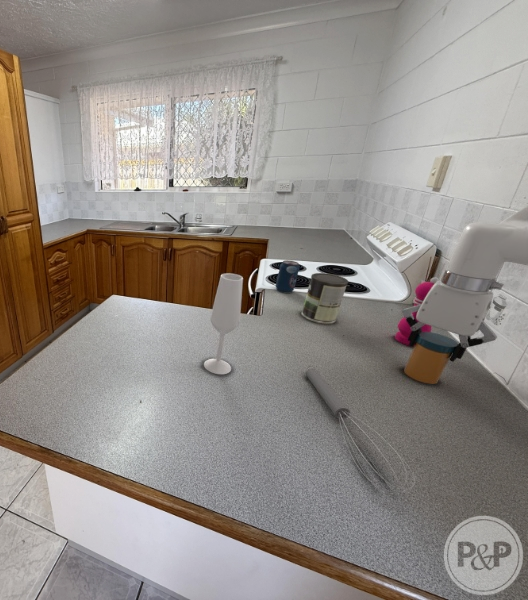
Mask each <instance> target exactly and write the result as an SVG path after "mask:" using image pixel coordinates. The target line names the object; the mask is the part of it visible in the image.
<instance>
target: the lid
mask: <svg viewBox="0 0 528 600" xmlns="http://www.w3.org/2000/svg"><path fill="white" fill-rule="evenodd" d="M416 341H417V342H418V343H419V344H420V345H422V346H424V347H426V348H428V349H431V350H434V351H437V352H442V353H452V354H453V352H454V350H455V348H456V346H457V345H458V344H459V343H458V342H457V341H456V340H455V339H453V338H451V337H448V336H447V335H444V334H440V333H436V332H432V331H431V332H420V333H419V335H418V337H417V339H416Z"/></svg>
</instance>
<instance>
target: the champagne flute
mask: <svg viewBox="0 0 528 600" xmlns="http://www.w3.org/2000/svg"><path fill="white" fill-rule="evenodd" d="M219 277H220V278H219V282H218V286H217V289H216V294H215V298H214V302H213V304H212V310H211V314H210V317H209V320H210V323H211V325H212V327H213V328H214V329H215V330H216V332H218V333H219V337H218V338H219V339H218V345H217V351H216V357H215V358H209V359H207V360H205V361H204V363H203V366H204V368H205V369H206V370H207V371H208V372H210V373H212V374H215V375H226V374H229V373H230V372H231V371H232V366H231V365H230V363H228V362H227V361H225V360H223V359H222V356H223V349H224V344H225V337H226V334H229V333H231V332H234V331H235V330H236V329H237V328H239V326H240V323H241V312H242V311H241V309H242V299H243V296H242V295H243V283H244V278H243V276H242V275H240V274H236V273H221V275H220V276H219Z"/></svg>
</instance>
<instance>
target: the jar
mask: <svg viewBox="0 0 528 600" xmlns="http://www.w3.org/2000/svg"><path fill="white" fill-rule="evenodd" d="M452 354H453V353H442V352H437V351H434V350H431V349H428V348H426V347H424V346H422V345H420V344H419V343H418V342H416V344H415V346H413V348H412V351H411V353H410V356H409V357H408V359H407V362H406V364H405V366H404V369H403V373H404V374H405V375H407V376H408V377H410V378H411V379H413V380H415V381H417V382H420V383H424V384H429V385H434V384H438V382H439V380H440V379H441V377H442V375H443V373H444V370H445V368H446V367H447V365H448V363H449V361H450V360H449V359H450V357H451V356H452Z"/></svg>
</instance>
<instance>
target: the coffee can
mask: <svg viewBox="0 0 528 600" xmlns="http://www.w3.org/2000/svg"><path fill="white" fill-rule="evenodd" d="M309 281H310V282H309V285H308V288H307V292H306V295H305V296H306V297H305V300H304V303H303V307H302V311H301V316H302V317H303V318H305V319H307V320H308V321H310V322H313V323H318V324H325V325H326V324H327V325H328V324H334V323H335V322H336V321H337V318H338V317H337V316H338V314H339V310H340V307H341V304H342V301H343V298H344V295H345V292H346V289H347V286H348V285H349V279H347V278H345V277H343V276H340V275H337V274H333V273H327V272H315V273H312V274H311V276H310V280H309Z"/></svg>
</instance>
